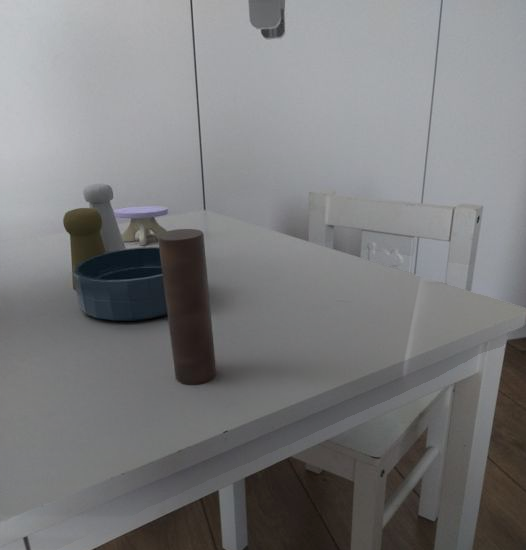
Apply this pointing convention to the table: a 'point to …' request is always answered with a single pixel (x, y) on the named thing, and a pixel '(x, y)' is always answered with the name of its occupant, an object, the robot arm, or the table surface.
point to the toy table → (141, 222)
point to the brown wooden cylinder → (188, 304)
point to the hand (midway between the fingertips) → (270, 34)
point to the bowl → (122, 285)
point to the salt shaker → (105, 215)
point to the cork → (83, 235)
